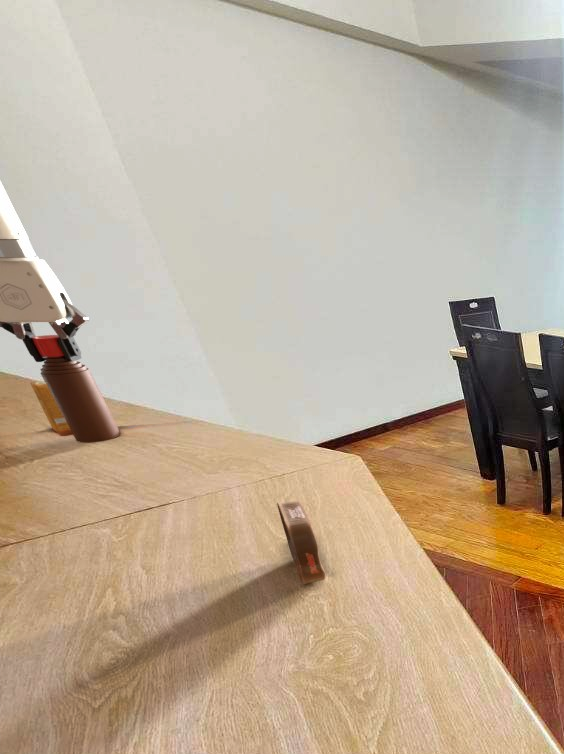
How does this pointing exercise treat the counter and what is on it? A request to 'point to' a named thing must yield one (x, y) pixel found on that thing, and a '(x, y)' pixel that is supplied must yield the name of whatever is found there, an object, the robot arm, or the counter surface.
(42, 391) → the supplement box
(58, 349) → the cap
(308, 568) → the brown curved block
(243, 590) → the counter surface
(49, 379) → the sauce bottle
